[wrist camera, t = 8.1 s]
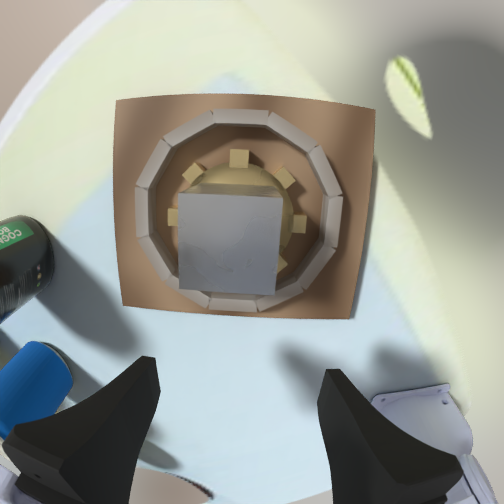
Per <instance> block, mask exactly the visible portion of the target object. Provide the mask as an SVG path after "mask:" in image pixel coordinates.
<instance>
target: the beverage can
mask: <svg viewBox="0 0 504 504" xmlns="http://www.w3.org/2000/svg"><path fill="white" fill-rule="evenodd" d="M72 385H73V379H72V375H71V373H70V371H69V368H68V366H67V364H66V362H65V360H64V359H63V358H62V357H61V355H60V354H59V353H58V352H57V351H55V350H54V349H53V348H51V347H50V346H48V345H46V344H43V343H40V342H37V341H30V342H28V343H27V344H26V345H25V346H24V347H23V348H22V349H21V350H20V351H19V352H18V353H17V354H16V355H15V356H14V357H13V358H12V359H11V360H10V361H9V362H8V363H7V364H6V365H5V366H4V368H3V369H2V370H1V371H0V455H2V456H3V457H5V458H6V459H8V460H10V459H9V458H8V456H7V455H6V454H5V452H4V450H3V448H2V443H3V442H4V440H5V439H6V437H7V436H8V434H9V433H10V432H11V430H12V429H13V427H14V426H15V425H16V424H21V423H26V422H30V421H35V420H38V419H42V418H45V417H48V416H51V415H54V414H55V412H56V410H57V409H58V407H59V406H60V404H61V403H62V401H63V400H64V398H65V397H66V395H67V394H68V392H69V391H70V389H71V388H72ZM10 461H11V460H10ZM11 462H12V461H11Z"/></svg>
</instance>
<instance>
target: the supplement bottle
mask: <svg viewBox="0 0 504 504" xmlns="http://www.w3.org/2000/svg"><path fill="white" fill-rule="evenodd" d="M53 269H54V258H53V252H52V248H51V245H50V242H49V239H48V237H47V235H46V233H45V232H44V230H43V229H42V228H41V226H40V225H39V224H38V223H37V222H36V221H34V220H33V219H31V218H30V217H27V216H23V215H18V216H14V217H11V218H8V219H5V220H2V221H0V324H1V323H2V322H3V321H5V320H6V319H7V318H8V317H9V316H11V315H12V314H13V313H14V312H16V311H17V310H18V309H19V308H21V307H22V306H23V305H24V304H26V303H27V302H28V301H30V300H31V299H32V298H33V297H35V296H36V295H37V294H39V293H40V292H41V291H42V290H44V289H45V288H46V287H47V285H48V284H49V282H50V280H51V278H52V275H53Z"/></svg>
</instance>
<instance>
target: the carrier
mask: <svg viewBox="0 0 504 504" xmlns="http://www.w3.org/2000/svg"><path fill="white" fill-rule="evenodd" d="M374 132H375V110H374V109H369V108H364V107H359V106H353V105H348V104H342V103H335V102H328V101H321V100H313V99H305V98H295V97H285V96H272V95H254V94H180V95H163V96H150V97H140V98H131V99H122V100H116V109H115V124H114V146H113V200H114V223H115V238H116V251H117V262H118V271H119V280H120V288H121V295H122V303H123V306H130V307H139V308H148V309H157V310H167V311H178V312H189V313H202V314H215V315H230V316H248V317H269V318H299V319H349V317H350V313H351V308H352V303H353V298H354V293H355V288H356V283H357V278H358V272H359V267H360V261H361V255H362V249H363V242H364V236H365V229H366V221H367V214H368V205H369V197H370V187H371V177H372V165H373V151H374ZM230 149H241V150H249V163H250V164H254V165H257V166H259V167H261V168H263V169H265V170H267V171H268V172H270V173H271V174H273V173H274V172H276V171H277V170H278V169H279V168H280V167H281V166H283V167H284V168H285V169H286V170H287V171H288V172H289V173H290V175H291V176H292V177H293V178H294V179H295V180H296V181H295V182H294V183H292V184H291V185H290V186H289V187H288V188H287V189H285V190H286V191H287V193H288V195H289V197H290V200H291V203H292V207H293V211H295V212H304V213H305V214H306V215H307V220H306V230H305V233H292V234H291V238H290V240H289V242H288V244H287V246H286V248H285V249H284V251H283V252H282V254H283V255H284V256H285V257H286V259H287V262H288V265H287V266H286V267H284V268H283V269H282V270H281V271H279V272H278V273H277V276H276V286H275V295H258V294H241V293H225V292H211V291H197V290H185V289H179V268H178V226H168V208H169V207H171V206H173V205H178V193H180V192H182V191H184V190H186V189H188V188H189V186H190V185H191V184H190V183H189V182H188V181H187V180H186V179H185V178H184V177H183V176H182V174H183V173H184V172H185V171H186V170H187V169H188V168H189V167H190V166H192V165H193V164H194V163H195V162H199V163H200V164H201V165H202V166H203V167H204V168H205V169H206V170H208V169H210V168H212V167H214V166H217V165H220V164H224V163H230Z"/></svg>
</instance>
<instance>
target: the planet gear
mask: <svg viewBox="0 0 504 504" xmlns="http://www.w3.org/2000/svg"><path fill="white" fill-rule="evenodd" d="M182 176H183V177H184V178H185V179H186V180H187V181H188V182H189V183H190V184H191V185H190V186H189V188H188V189H186V190H184V191H182V192H180V193H178V205H173V206H171V207H169V208H168V226H178V268H179V289H185V290H197V291H211V292H225V293H241V294H258V295H275V286H276V276H277V273H278V272H279V271H281V270H282V269H283V268H284V267H286V266H287V265H288V262H287V259H286V257H285V256H284V255H283V254H282V252H283V251H284V249H285V248H286V246H287V244H288V242H289V240H290V238H291V234H292V233H305V230H306V220H307V215H306V214H305V213H304V212H295V211H293V207H292V203H291V200H290V197H289V195H288V193H287V191H286V190H285V189H287V188H288V187H289V186H290V185H291V184H292V183H294V182H295V181H296V180H295V179H294V178H293V177H292V176H291V175H290V173H289V172H288V171H287V170H286V169H285V168H284V167H283V166H281V167H280V168H279V169H278V170H277V171H276V172H274V173H273V174H271V173H270V172H268V171H267V170H265V169H263V168H261V167H259V166H257V165H254V164H250V163H249V150H241V149H230V163H224V164H220V165H217V166H214V167H212V168H210V169H208V170H206V169H205V168H204V167H203V166H202V165H201V164H200V163H199V162H195V163H194V164H193V165H192V166H190V167H189V168H188V169H187V170H186V171H185V172H184V173H183V174H182Z"/></svg>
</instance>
